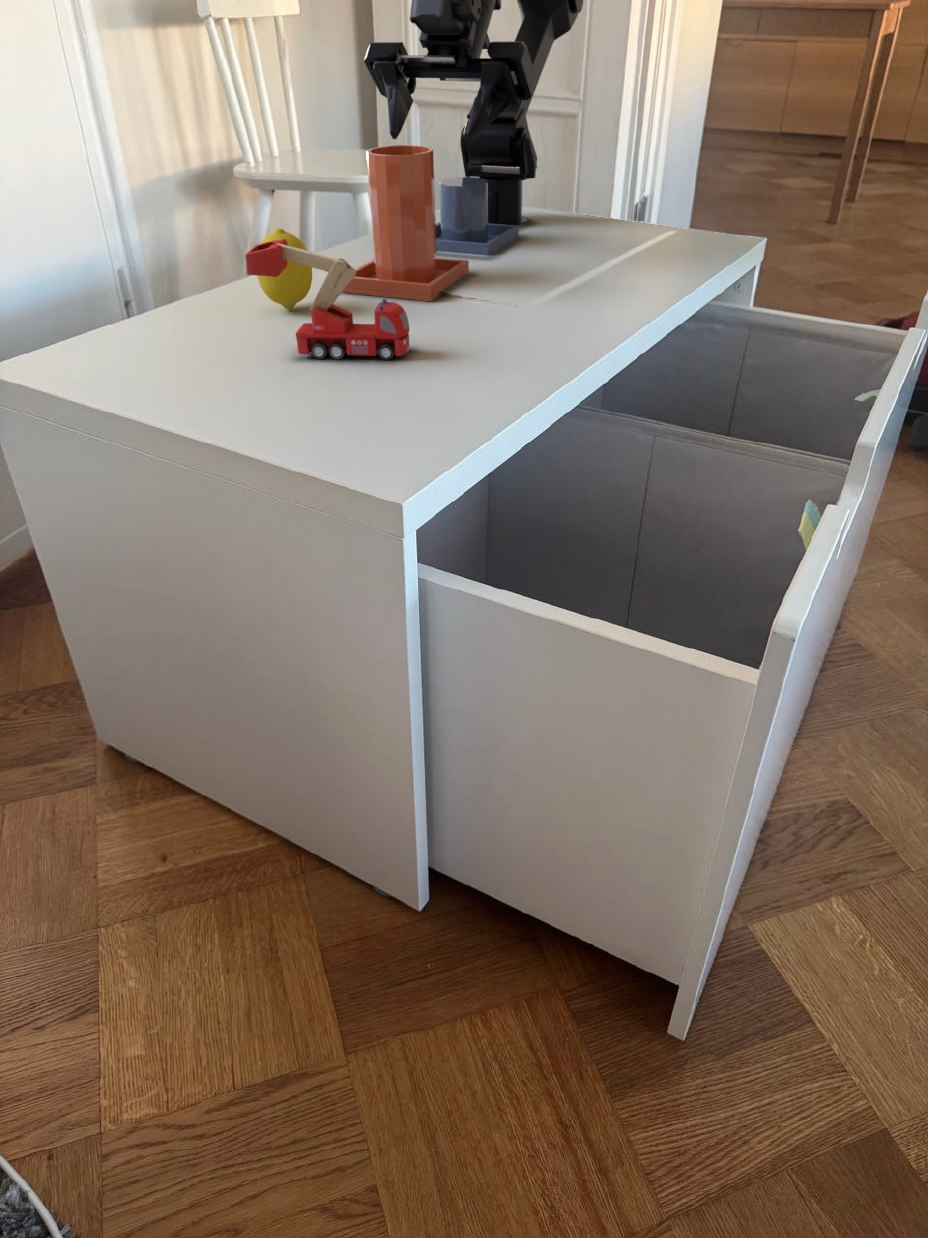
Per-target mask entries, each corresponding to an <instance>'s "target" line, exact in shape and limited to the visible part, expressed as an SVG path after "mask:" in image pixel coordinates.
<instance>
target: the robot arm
mask: <svg viewBox="0 0 928 1238" xmlns="http://www.w3.org/2000/svg"><path fill="white" fill-rule="evenodd" d="M516 1H517V5H518V8H519V13H520V18H521V23H520V26H519V29H518V32H517V34H516V36H515V39H514V41H512V40H511V41H510V40H509V41H490V37H489V34H488V31H489V27H490V24H491V19H492V17H493V13H494V11H500V10H501V9H502V0H411V5H410V12H409V13H410V14H409V21H410V23H411V24H414V25H415V26H416V27H417V28H418V29H419V30H420V31H421V32H420V35H419V38H418V40H419V42H420V45H421V47H422V48H423V49H426V50H427V54H409V53H408V51H407V49H406V47H405V45H404V42H403V41H373V42H370V43H369V46H368V47H367V50H366V53H365V55H364V60H363V63H364V64H365V67H366V69H367V71H368V72H369V74H370V76H371V78H372V81H373V82H374V85H375V86H376V88H377V90H378V92H379V94H380V95H381V96H383V97H384V98H385V99H386V100H387V115H388V128H389V129H388V130H389V135H390V137H391V139H392V140H397V139H398V137H399V135H400V134H401V132H402V130H403V127H404V125H405V123H406V120H407V118H408V115H409V113H410V111H411V108H412V105H413V103H414V99H413V97H412V95H413V94H414V93H415V90H416V87H417V79H439V81H440V82H464V83H465V82H467V83H468V82H471V83H473V82H475V83H477V82H480V83H479V88H478V90H477V94H476V96H475V98H474V99H473V102H472V105H471V108H470V111H469V112H468V113H467V114H466V118H467V120H466V123H465V125H464V126H463V128H462V129H461V134H460V151H461V157H462V163H463V170H464V177H474V178H482V179H486V180H487V181H488V223H489V224H502V225H516V226H520V225H523V224H526V223H528V222H530V221H531V222H532V218H529V217H523V215H522V214H523V181H526V180H528V179H529V180H530V179H535V178H537V177H536V176H537V175H536V173H537V169H538V156H537V152H536V149H535V146H534V142H533V139H532V136H531V133H530V129H529V125H528V119H527V113H528V110H529V107H530V106H531V105H530V104H531V102H532V100H533V97H534V94H535V92H536V89H537V87H538V84H539V81H540V78H541V76H542V73H543V70H544V68H545V66H546V63H547V60H548V58H549V54H550V52H551V50H552V47H553V44H554V42H555V41H557V40H558V39H559V38H560V37H562V36H564V35H566V34H567V33H568V32H570V31H571V30H572V28H573V26H574V24H575V22H576V20H577V18H578V15H579V14H580V13H581V12H582V9H583V6H584V0H516ZM483 50H486V52H487V55H488V57H487V58H486V57H484V58H483V57H481V56H482V53H483Z"/></svg>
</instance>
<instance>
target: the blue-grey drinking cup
mask: <svg viewBox="0 0 928 1238" xmlns="http://www.w3.org/2000/svg"><path fill="white" fill-rule="evenodd" d="M438 185H439V186H438V187H439V215H440V216H439V217H440V222H441V240H453V241H465V242H477V243H487V242H488V181H487V180H486V179H482V178H479V177H465V176H464V177H463V176H460V177H450V178H445V179H441V180H440V181H439V182H438Z"/></svg>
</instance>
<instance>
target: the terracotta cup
mask: <svg viewBox="0 0 928 1238" xmlns="http://www.w3.org/2000/svg"><path fill="white" fill-rule="evenodd" d="M366 163H367V178H368V190H369V205H370V217H371V218H370V221H371V234H372V235H371V236H372V247H373V259H374V263H375V275H376V279H386V280H397V281H407V282H418V283H430V282H431V281H433V280H434V279H436V278H437V258H438V257H437V254H438V253H437V252H438V251H436V224H437V223H436V197H435V195H436V193H435V170H434V169H435V168H434V167H435V166H434V165H435V164H434V149H433V148H432V147H429V146H425V145H415V144H413V145H412V144H411V145H410V144H399V145H397V144H396V145H384V146H377V147H372V148H369V149H367V150H366Z"/></svg>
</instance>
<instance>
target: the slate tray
mask: <svg viewBox="0 0 928 1238" xmlns="http://www.w3.org/2000/svg"><path fill="white" fill-rule="evenodd" d="M519 226H520V225H518V226H516V225H502V224H489V223H488V242H487V243H477V242H465V241H453V240H441V221H439V222H437V223H436V251H437V252H443V253H454V254H455V253H456V254H466V255H467V254H468V255H477V256H478V255H479V256H489V255H491V254H493V253H495V252H496V251H497V250H499V249H501V248H502V247H504V246H505V245H507V244H508V243H510V242H511V241H514V240H515V239H517V238H518V237H519V235H520V227H519Z"/></svg>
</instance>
